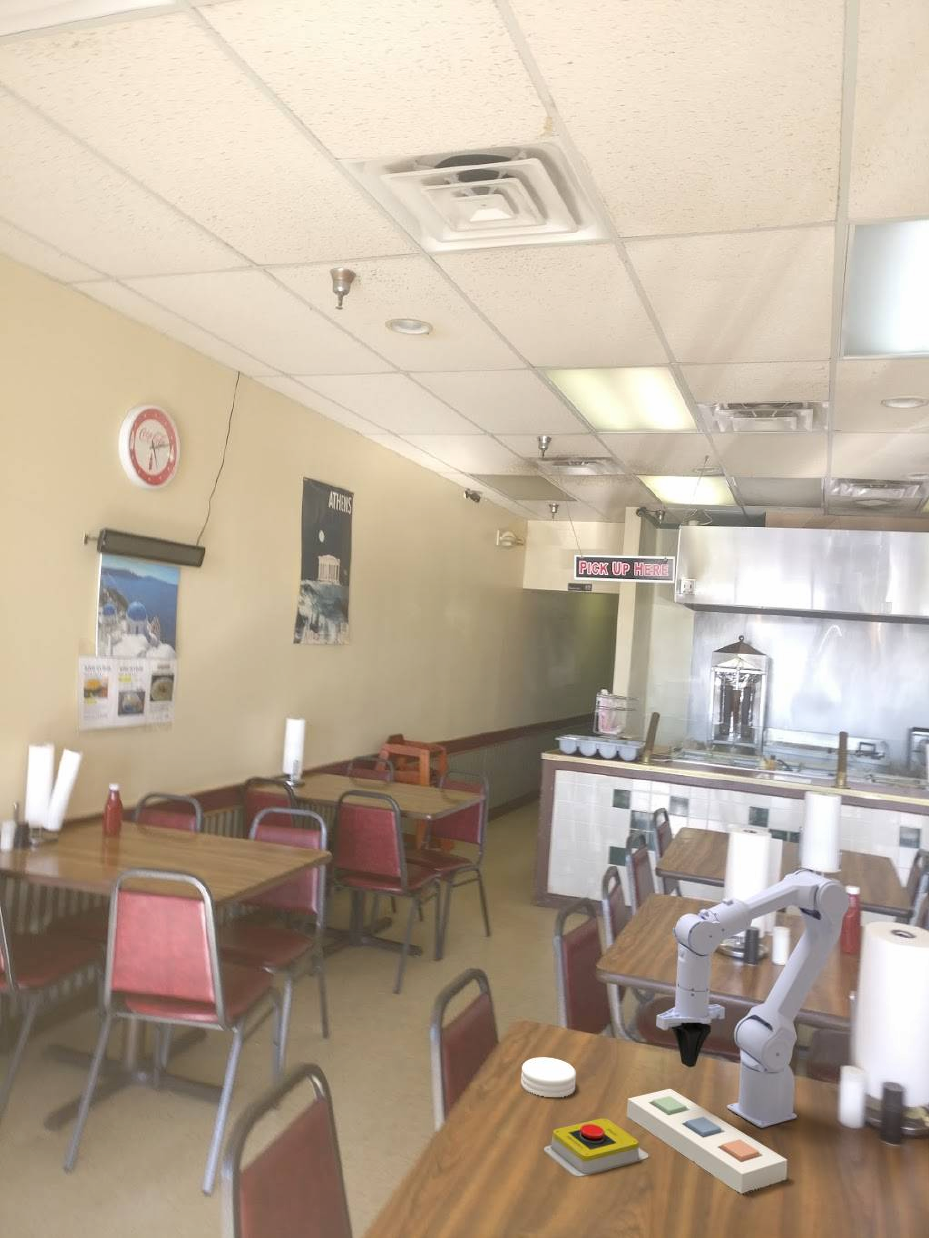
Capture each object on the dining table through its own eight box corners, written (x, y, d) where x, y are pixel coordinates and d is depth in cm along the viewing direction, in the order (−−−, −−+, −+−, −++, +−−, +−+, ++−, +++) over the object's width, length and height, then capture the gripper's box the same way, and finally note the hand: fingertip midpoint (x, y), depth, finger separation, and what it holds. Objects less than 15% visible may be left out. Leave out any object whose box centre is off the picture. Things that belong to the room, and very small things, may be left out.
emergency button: (542, 1123, 152) (615, 1106, 159) (540, 1151, 151) (613, 1133, 159) (578, 1151, 144) (652, 1132, 151) (576, 1181, 143) (651, 1160, 151)
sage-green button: (668, 1113, 165) (669, 1095, 165) (685, 1123, 162) (686, 1106, 162) (651, 1117, 163) (652, 1100, 163) (667, 1128, 160) (668, 1110, 160)
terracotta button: (738, 1158, 152) (739, 1139, 152) (758, 1170, 148) (759, 1151, 148) (720, 1163, 150) (721, 1144, 150) (740, 1176, 146) (741, 1156, 146)
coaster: (515, 1092, 171) (516, 1073, 171) (527, 1070, 180) (528, 1052, 180) (569, 1104, 168) (570, 1084, 168) (579, 1081, 177) (580, 1062, 177)
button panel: (669, 1105, 169) (670, 1088, 170) (786, 1179, 147) (787, 1159, 147) (626, 1116, 164) (627, 1098, 164) (741, 1194, 142) (742, 1173, 142)
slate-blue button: (702, 1134, 158) (703, 1116, 159) (719, 1146, 155) (720, 1127, 155) (684, 1139, 156) (685, 1121, 157) (702, 1151, 153) (703, 1132, 153)
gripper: (678, 998, 158) (673, 1081, 158) (739, 988, 166) (735, 1066, 165) (649, 984, 164) (645, 1064, 164) (709, 975, 172) (705, 1051, 171)
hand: (688, 1064), depth 165 cm, fingers closed
